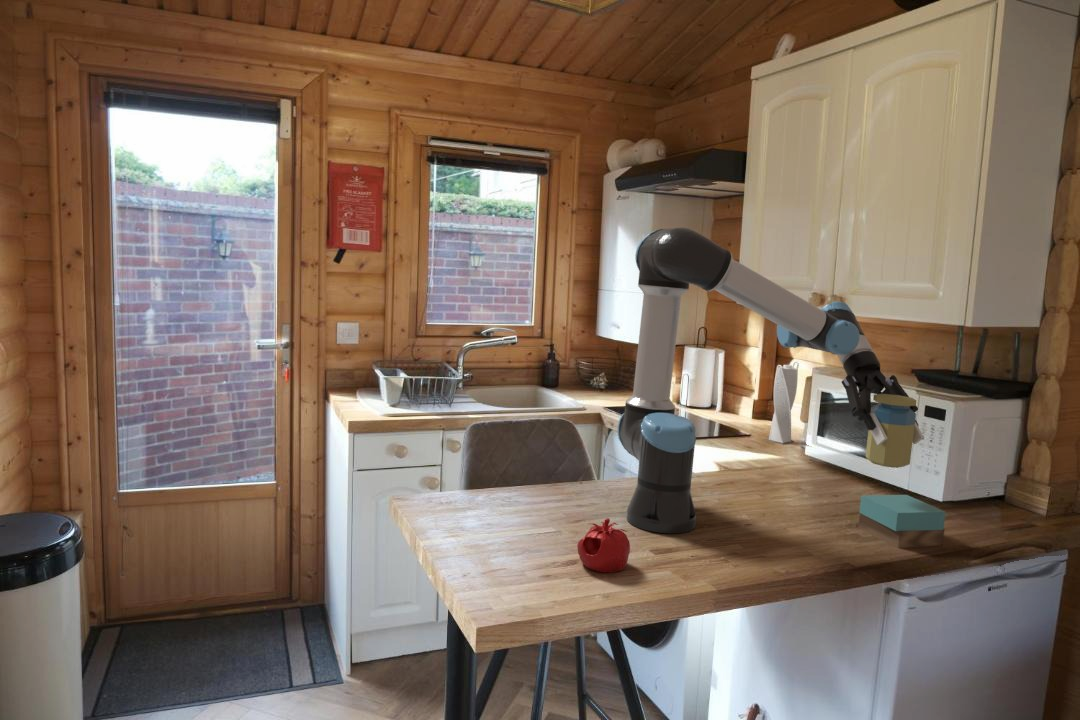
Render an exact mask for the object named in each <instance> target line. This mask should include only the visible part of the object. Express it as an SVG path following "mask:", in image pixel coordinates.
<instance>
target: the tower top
mask: <svg viewBox="0 0 1080 720" xmlns="http://www.w3.org/2000/svg"><path fill="white" fill-rule="evenodd" d="M859 504H860V505H859V514H860V513H861V514H863V515H865V516H867V517H869V518H871V519H873V520H875V521H877V522H879V523H881V524H883V525H885V526H887V527H888V528H890V529H892V530H894V531H918V530H943V529H944V530H945V528H944V527H945V518H946V511H944V510H943V509H940V508H938V507H937V506H933V505H931V504H928V503H926V502H925V501H921V500H920V499H917V498H915V497H913V496H910V495H908V494H880V495H879V494H874V495H873V494H871V495H869V494H867V495H861V496H860V503H859Z"/></svg>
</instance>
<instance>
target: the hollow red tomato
mask: <svg viewBox="0 0 1080 720" xmlns="http://www.w3.org/2000/svg"><path fill="white" fill-rule="evenodd" d="M600 523H601V525H598V524H597V523H593V522H592V523H586V524H587V525H593V526H591V527H590V528H589V530H588V532H587V533H586V534H585V536H584V537H583V538H581V539H579V541H578V542H577V554H578V556H579V557H578V558H579V560H580V561H581V563H582V564H584V566H585V567H586V568H587V569H589V570H592V571H595V572H599V573H604V574H605V573H609V574H610V573H613V572H614V573H615V572H620V571H621V570H623V569H624V568H626V566H627V564H628V562H629V561H628V560H629V558H630V557H629V556H630V552H631V546H630V540H629V538H628V536H627V534H626V533H624V532H628V530H625V529H622V528H619V529H618V528H613V526H614V525H619V524H617V523H616V522H613V523H611V519H610V518H608V517H606V518H605V519H604V521H601V522H600Z"/></svg>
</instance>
